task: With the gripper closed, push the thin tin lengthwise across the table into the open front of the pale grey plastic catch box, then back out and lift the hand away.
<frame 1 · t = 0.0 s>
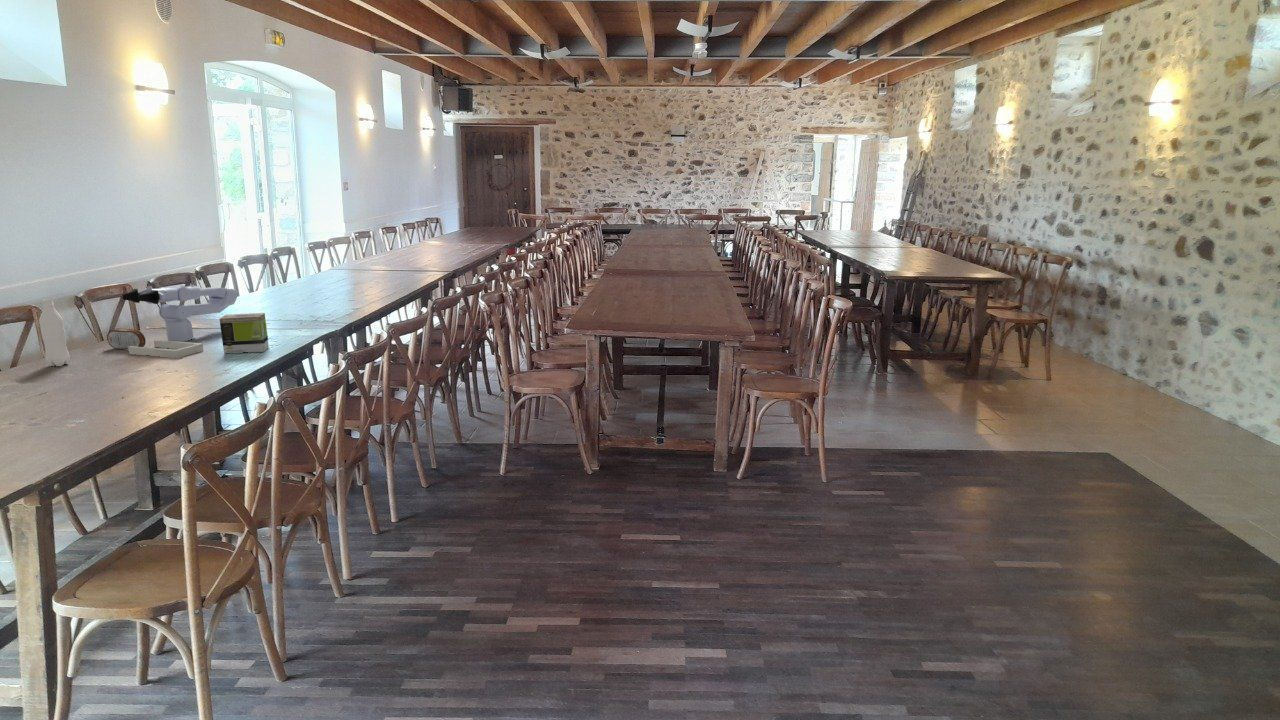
hand: (131, 297, 301), 22 cm above the table, tool horizontal, fingers open, 7 cm apart
tea box: (246, 351, 309), on the table
water bottle: (59, 365, 283), on the table
catch box: (165, 352, 305), on the table
tin: (127, 349, 309), on the table
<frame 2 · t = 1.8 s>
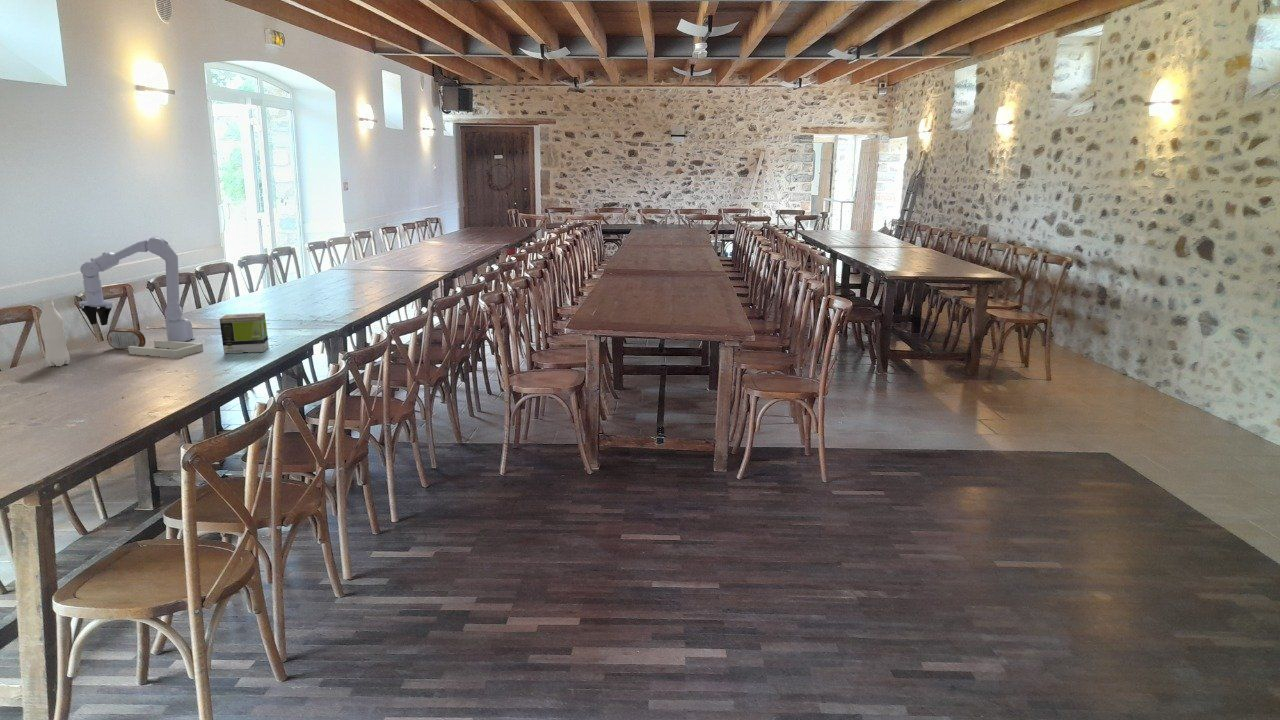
hand: (99, 324, 310), 9 cm above the table, tool pointing down, fingers open, 5 cm apart
nothing on the table moved.
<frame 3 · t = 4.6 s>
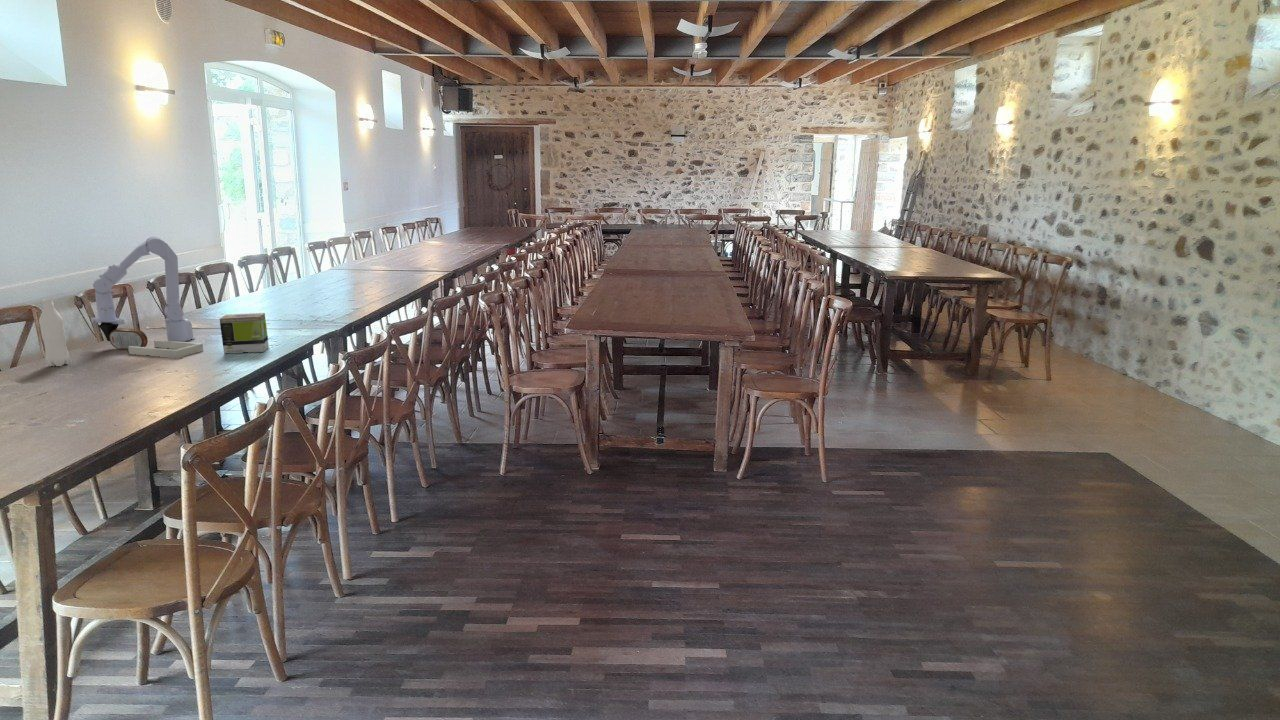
hand: (111, 340, 310), 3 cm above the table, tool pointing down, fingers closed
tin: (129, 349, 309), on the table, touching gripper
everything else where it was.
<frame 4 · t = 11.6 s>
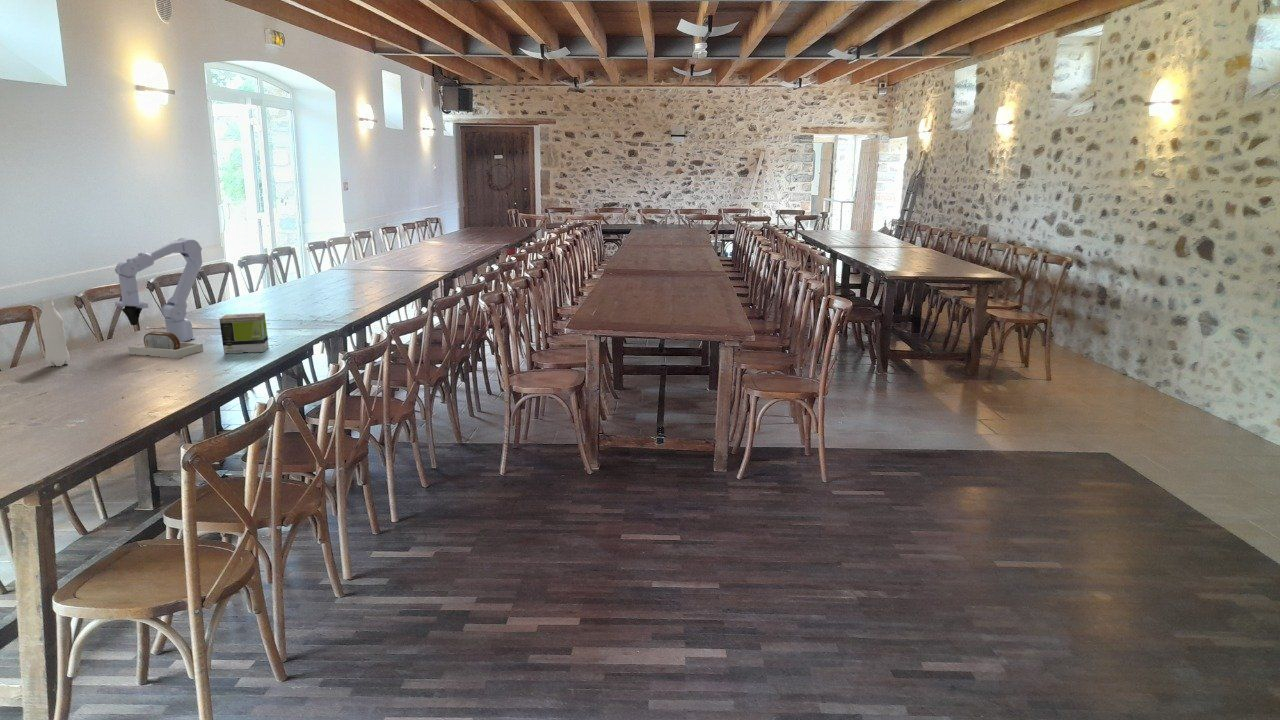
hand: (134, 324, 310), 9 cm above the table, tool pointing down, fingers closed
tin: (162, 353, 304), resting in catch box
everything else where it was.
at the end: tin inside the target area on the catch box (1.1 cm from its centre), point 0.0 cm above the catch box's base; tin tilted 0°; tin touching table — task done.
